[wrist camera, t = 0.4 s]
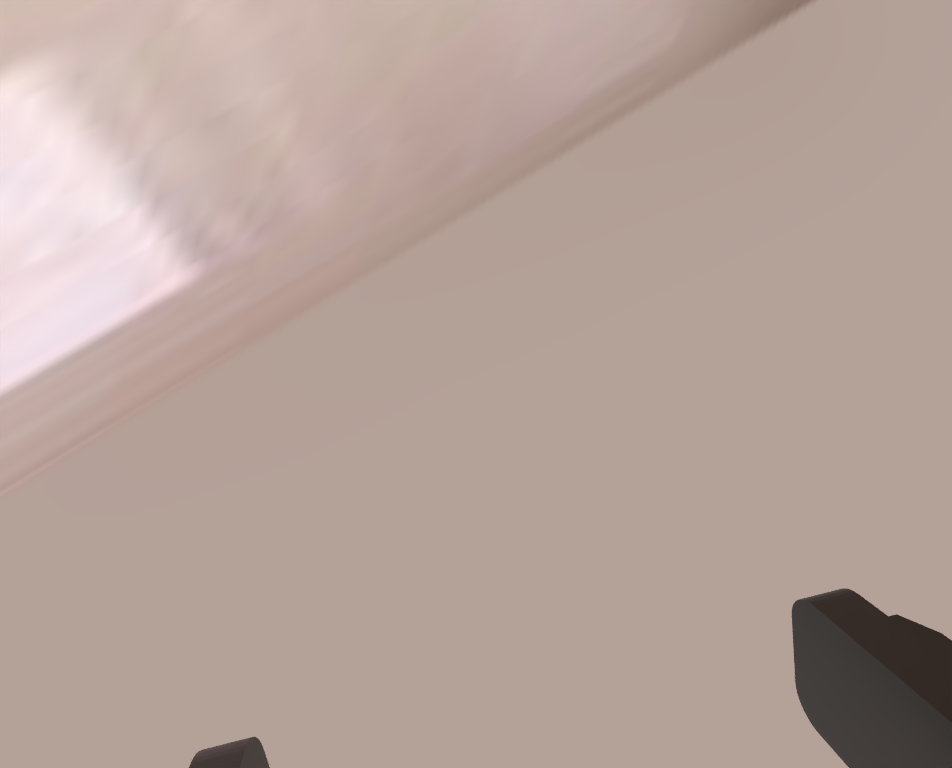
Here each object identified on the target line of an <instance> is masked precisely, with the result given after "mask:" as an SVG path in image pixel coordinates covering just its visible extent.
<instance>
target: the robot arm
mask: <svg viewBox="0 0 952 768" xmlns="http://www.w3.org/2000/svg"><path fill="white" fill-rule="evenodd" d="M792 625H793V643H794V663H795V679H796V680H795V682H796V689H797V693H798V696H799V700H800V702H801V705H802V707H803V709H804V711H805V713H806V715H807V717H808V719H809V720H810V722H811V724H812V725H813V726H814V728H815V729H816V730H817V732H818V733H819V734H820V735H821V736H822V738H823V739H824V740H825V741H826V742H827V743H828V744H829V745H830V746H831V748H832V749H833V750H834V751H835V752H836V753H837V755H838V756H839V757H840V758H841V759H842V760H843V761H844V763H845V764H846V765H847V766H848V767H849V768H952V641H951V640H950V639H948V638H947V637H946V636H944V635H943V634H941V633H939V632H937V631H935V630H932V629H930V628H927V627H925V626H923V625H920V624H918V623H916V622H913V621H911V620H908V619H906V618H904V617H901V616H899V615H893V616H889V617H888V616H887V615H886V614H884V613H883V612H881V611H880V610H879V609H878V608H876V607H875V606H874V605H872V604H871V603H869V602H868V601H867V600H865V599H864V598H863V597H861V596H860V595H858V594H857V593H855V592H854V591H852V590H850V589H839V590H835V591H831V592H827V593H824V594H819V595H815V596H812V597H808V598H804V599H800V600H797V601H796V602H795V603H794V605H793V608H792ZM189 768H270V767H269V764H268V762H267V758H266V755H265V752H264V749H263V747H262V744H261V742H260V741H259V739H258V738H256V737H252V738H247V739H244V740H239V741H235V742H231V743H227V744H223V745H220V746H216V747H212V748H208V749H204V750H201V751H199V752H198V753H197V754H196V755H195V756H194V758H193V760H192V762H191V765H190V767H189Z"/></svg>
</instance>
